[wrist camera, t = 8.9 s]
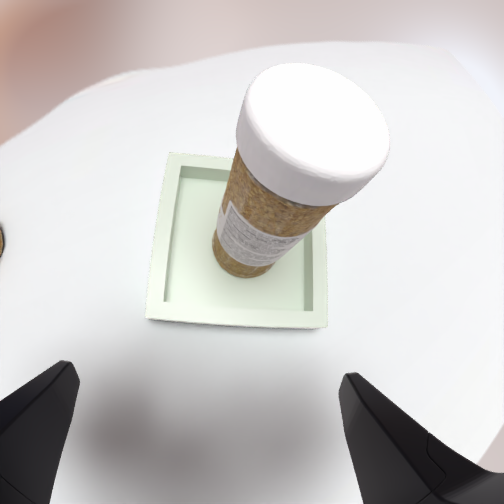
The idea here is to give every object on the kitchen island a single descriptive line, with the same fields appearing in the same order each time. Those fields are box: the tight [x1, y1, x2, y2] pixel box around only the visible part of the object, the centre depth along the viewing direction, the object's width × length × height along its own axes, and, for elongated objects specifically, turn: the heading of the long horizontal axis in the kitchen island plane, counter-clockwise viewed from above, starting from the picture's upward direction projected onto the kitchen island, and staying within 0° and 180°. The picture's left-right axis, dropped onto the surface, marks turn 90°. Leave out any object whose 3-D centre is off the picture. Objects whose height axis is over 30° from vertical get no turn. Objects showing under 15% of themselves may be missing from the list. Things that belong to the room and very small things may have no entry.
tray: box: [145, 152, 328, 329], centre depth 20 cm, size 11×11×2 cm
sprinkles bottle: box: [212, 63, 390, 278], centre depth 14 cm, size 5×5×13 cm
